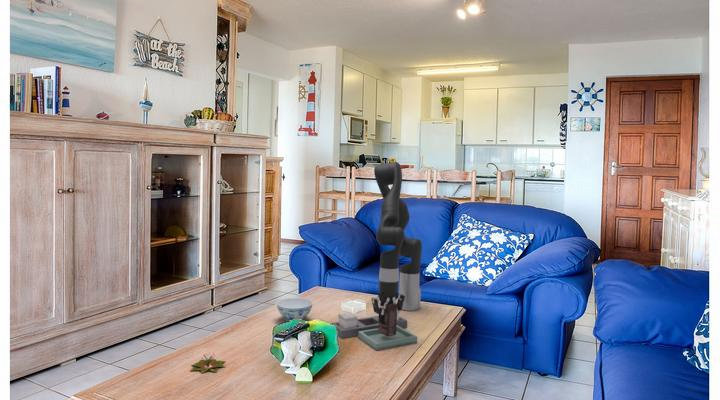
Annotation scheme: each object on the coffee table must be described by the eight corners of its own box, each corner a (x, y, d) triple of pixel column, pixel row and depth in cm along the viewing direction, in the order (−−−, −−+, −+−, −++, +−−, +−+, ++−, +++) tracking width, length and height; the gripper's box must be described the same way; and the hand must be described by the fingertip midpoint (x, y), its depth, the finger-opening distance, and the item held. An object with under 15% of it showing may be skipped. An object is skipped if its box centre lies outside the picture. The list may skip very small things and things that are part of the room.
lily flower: (197, 359, 163) (197, 346, 163) (232, 361, 163) (232, 348, 163) (182, 375, 152) (182, 360, 151) (220, 376, 151) (220, 362, 151)
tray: (396, 331, 195) (397, 325, 195) (417, 342, 183) (417, 336, 182) (357, 337, 186) (358, 331, 186) (376, 350, 174) (376, 344, 174)
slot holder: (393, 320, 208) (393, 313, 208) (406, 327, 199) (407, 320, 199) (330, 330, 194) (330, 322, 194) (341, 338, 185) (341, 331, 185)
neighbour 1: (349, 329, 196) (350, 312, 195) (356, 334, 190) (357, 316, 190) (338, 331, 193) (338, 314, 193) (345, 336, 188) (345, 318, 187)
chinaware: (319, 321, 205) (319, 303, 204) (291, 329, 194) (292, 310, 193) (296, 312, 215) (297, 295, 214) (269, 320, 204) (269, 302, 203)
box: (396, 334, 183) (397, 303, 182) (388, 337, 181) (388, 305, 180) (386, 330, 188) (387, 300, 187) (377, 332, 185) (378, 302, 184)
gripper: (399, 275, 189) (397, 317, 191) (367, 278, 183) (366, 322, 184) (410, 279, 183) (408, 323, 184) (377, 283, 176) (376, 328, 177)
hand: (387, 322), depth 184 cm, fingers closed on box, 4 cm apart
